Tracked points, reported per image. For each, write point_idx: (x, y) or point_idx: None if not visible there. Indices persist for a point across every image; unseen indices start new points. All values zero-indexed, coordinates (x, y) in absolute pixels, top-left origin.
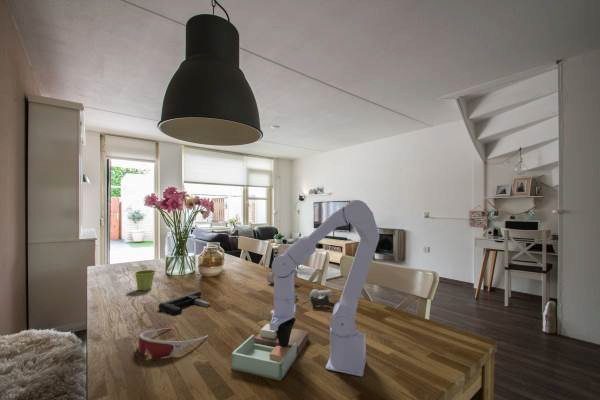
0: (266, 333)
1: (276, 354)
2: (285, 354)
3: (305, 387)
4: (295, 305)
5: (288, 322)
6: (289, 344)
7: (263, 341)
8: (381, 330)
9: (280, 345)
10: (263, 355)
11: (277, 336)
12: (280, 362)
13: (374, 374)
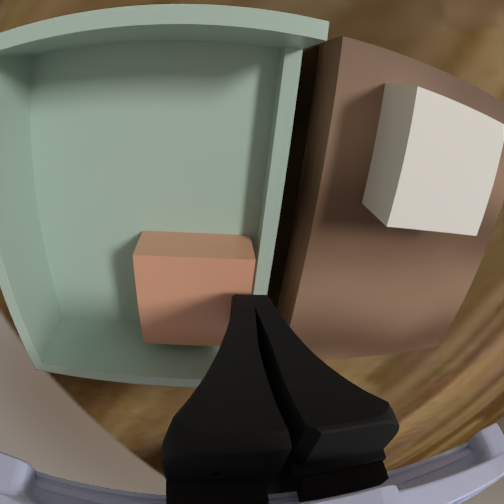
0: (392, 143)
1: (145, 296)
2: (168, 338)
3: (83, 383)
4: (469, 497)
5: (274, 485)
6: (293, 322)
7: (325, 123)
8: (429, 436)
9: (231, 304)
10: (193, 165)
11: (223, 339)
12: (41, 366)
13: None
